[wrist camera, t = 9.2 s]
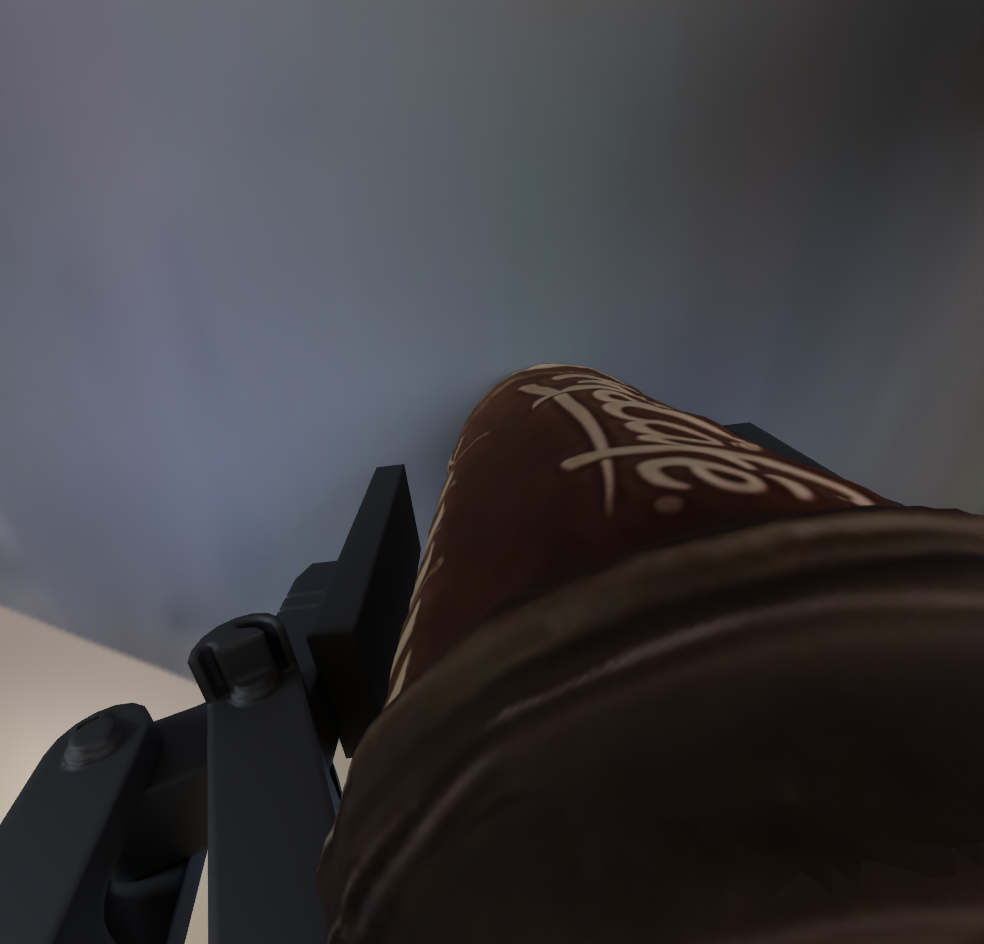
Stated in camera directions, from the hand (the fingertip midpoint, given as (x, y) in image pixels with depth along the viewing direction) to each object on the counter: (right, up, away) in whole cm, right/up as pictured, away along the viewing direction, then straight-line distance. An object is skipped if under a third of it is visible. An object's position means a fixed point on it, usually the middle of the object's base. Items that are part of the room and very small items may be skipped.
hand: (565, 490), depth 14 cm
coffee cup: (0, +1, +1) cm, 2 cm away
